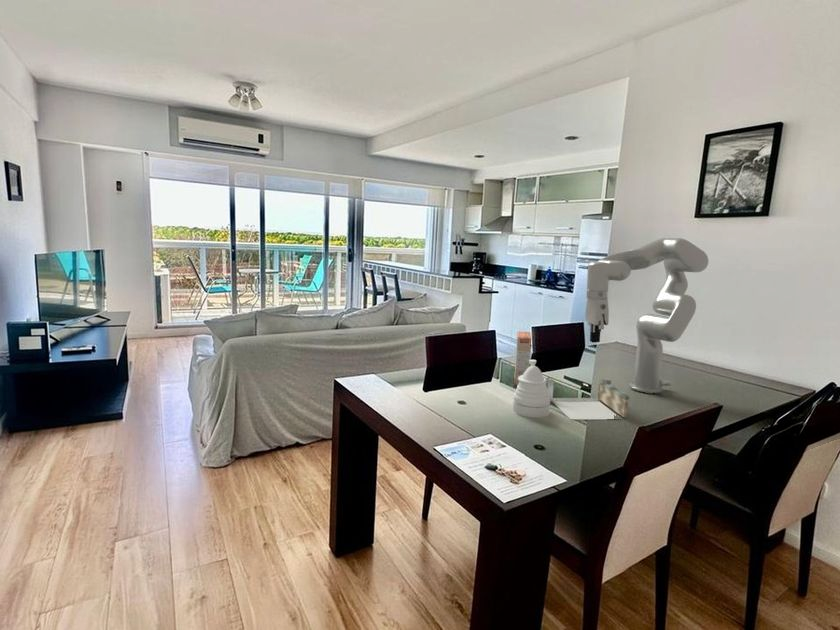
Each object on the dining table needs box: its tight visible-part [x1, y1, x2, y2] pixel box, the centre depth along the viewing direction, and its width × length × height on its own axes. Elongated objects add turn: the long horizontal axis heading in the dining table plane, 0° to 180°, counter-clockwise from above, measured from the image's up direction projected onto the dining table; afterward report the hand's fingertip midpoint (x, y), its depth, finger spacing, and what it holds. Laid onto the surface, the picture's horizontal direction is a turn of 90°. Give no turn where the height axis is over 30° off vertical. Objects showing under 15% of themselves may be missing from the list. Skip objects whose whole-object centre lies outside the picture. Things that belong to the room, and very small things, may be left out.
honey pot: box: [512, 359, 551, 418], centre depth 162 cm, size 13×13×18 cm
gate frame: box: [546, 377, 612, 403], centre depth 174 cm, size 25×3×8 cm, turn 93°
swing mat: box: [552, 402, 617, 421], centre depth 164 cm, size 18×17×1 cm
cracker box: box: [514, 331, 532, 386], centre depth 196 cm, size 14×6×21 cm, turn 168°
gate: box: [597, 379, 630, 418], centre depth 166 cm, size 19×2×7 cm, turn 4°
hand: (594, 341), depth 176 cm, fingers closed
